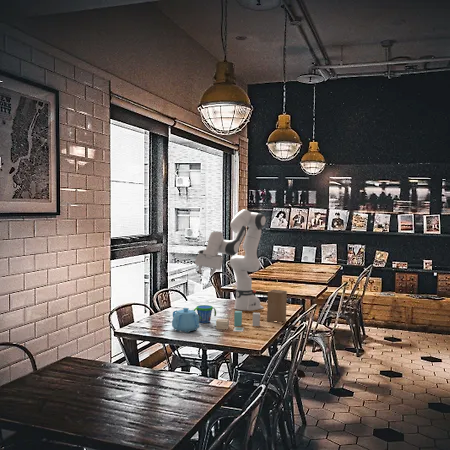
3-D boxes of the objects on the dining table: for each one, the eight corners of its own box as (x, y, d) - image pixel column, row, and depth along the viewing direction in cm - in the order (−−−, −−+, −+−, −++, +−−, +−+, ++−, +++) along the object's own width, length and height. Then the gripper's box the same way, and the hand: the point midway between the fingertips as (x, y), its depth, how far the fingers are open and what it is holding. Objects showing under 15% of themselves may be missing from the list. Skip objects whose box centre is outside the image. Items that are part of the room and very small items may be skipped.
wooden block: (266, 321, 336) (267, 291, 335) (272, 318, 344) (273, 289, 344) (280, 323, 331) (281, 293, 330) (286, 320, 340) (287, 290, 339)
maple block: (217, 326, 319) (217, 318, 319) (228, 327, 318) (228, 319, 318) (215, 329, 312) (216, 321, 312) (227, 329, 311) (227, 321, 311)
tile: (234, 327, 316) (234, 326, 316) (243, 328, 315) (243, 327, 315) (233, 331, 307) (233, 330, 307) (243, 331, 306) (243, 330, 306)
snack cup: (193, 324, 322) (194, 308, 321) (191, 320, 332) (191, 305, 332) (217, 323, 326) (218, 308, 325) (214, 319, 336) (214, 304, 335)
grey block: (252, 324, 325) (253, 312, 325) (259, 325, 325) (260, 312, 324) (252, 326, 321) (252, 314, 320) (259, 326, 320) (259, 314, 320)
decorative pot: (197, 327, 316) (198, 305, 316) (200, 333, 300) (200, 310, 300) (171, 327, 314) (172, 305, 314) (172, 333, 298) (172, 310, 298)
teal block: (234, 324, 324) (235, 310, 324) (241, 324, 324) (242, 311, 324) (234, 326, 320) (234, 312, 320) (241, 326, 320) (241, 312, 319)
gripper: (226, 257, 335) (220, 277, 332) (201, 253, 347) (196, 272, 344) (221, 254, 330) (215, 275, 327) (196, 250, 342) (191, 270, 339)
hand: (205, 273), depth 336 cm, fingers open, 8 cm apart
